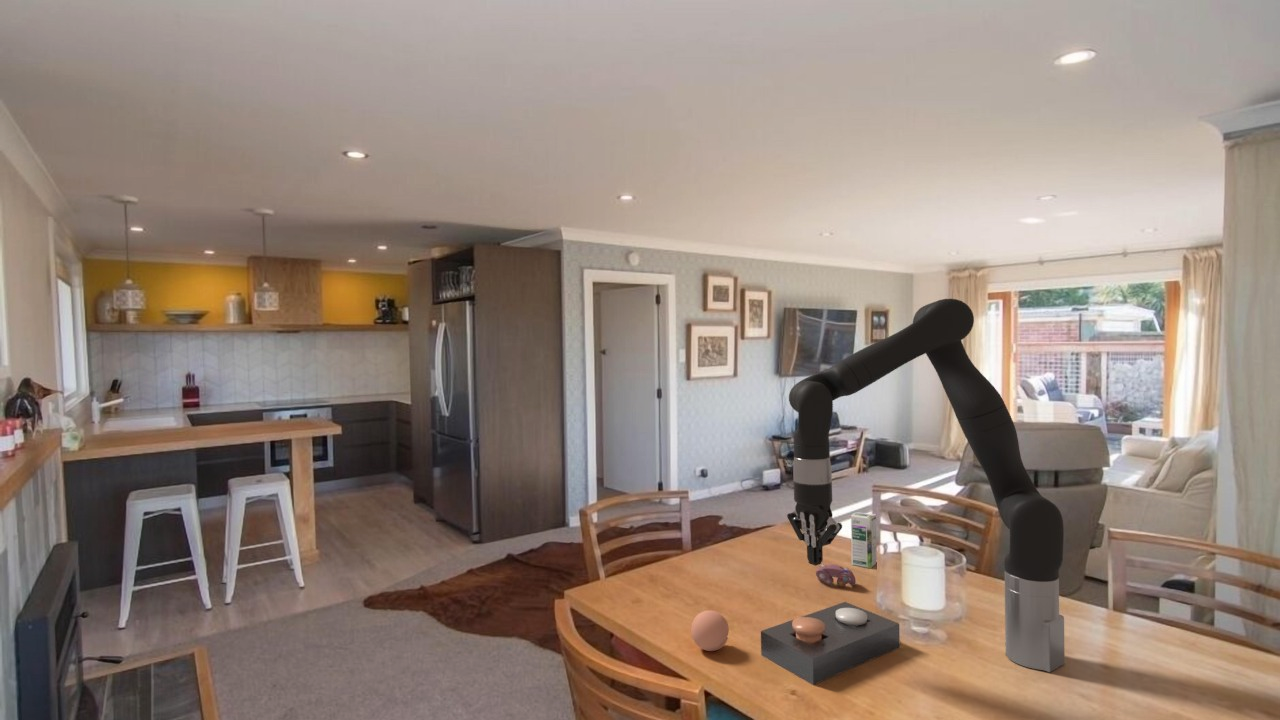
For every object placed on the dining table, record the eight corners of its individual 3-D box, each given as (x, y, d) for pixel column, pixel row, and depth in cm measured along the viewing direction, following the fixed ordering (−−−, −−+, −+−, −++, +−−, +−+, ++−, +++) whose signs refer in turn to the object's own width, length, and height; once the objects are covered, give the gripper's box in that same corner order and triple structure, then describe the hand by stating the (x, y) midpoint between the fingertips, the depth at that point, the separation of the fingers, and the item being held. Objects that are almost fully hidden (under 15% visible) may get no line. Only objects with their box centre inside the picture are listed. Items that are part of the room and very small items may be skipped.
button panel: (899, 647, 131) (899, 623, 131) (813, 684, 118) (812, 658, 117) (845, 623, 143) (845, 601, 143) (761, 655, 129) (760, 631, 129)
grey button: (874, 641, 133) (873, 615, 133) (854, 649, 129) (853, 623, 129) (849, 630, 138) (849, 605, 138) (829, 638, 135) (829, 612, 135)
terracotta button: (832, 653, 126) (831, 625, 126) (810, 662, 122) (809, 633, 122) (808, 641, 131) (807, 614, 131) (786, 649, 128) (785, 622, 128)
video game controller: (816, 588, 168) (813, 569, 165) (819, 576, 172) (816, 557, 169) (854, 594, 164) (852, 575, 161) (857, 581, 167) (854, 562, 164)
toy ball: (735, 646, 133) (734, 609, 133) (719, 661, 127) (718, 623, 127) (701, 637, 138) (701, 601, 138) (684, 652, 131) (684, 614, 131)
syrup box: (851, 565, 181) (850, 515, 181) (857, 559, 186) (856, 510, 186) (871, 569, 178) (870, 518, 178) (877, 563, 183) (876, 513, 182)
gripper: (851, 481, 124) (853, 568, 124) (800, 472, 135) (803, 552, 135) (825, 487, 120) (828, 577, 120) (775, 476, 131) (778, 559, 131)
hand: (814, 563), depth 128 cm, fingers closed
